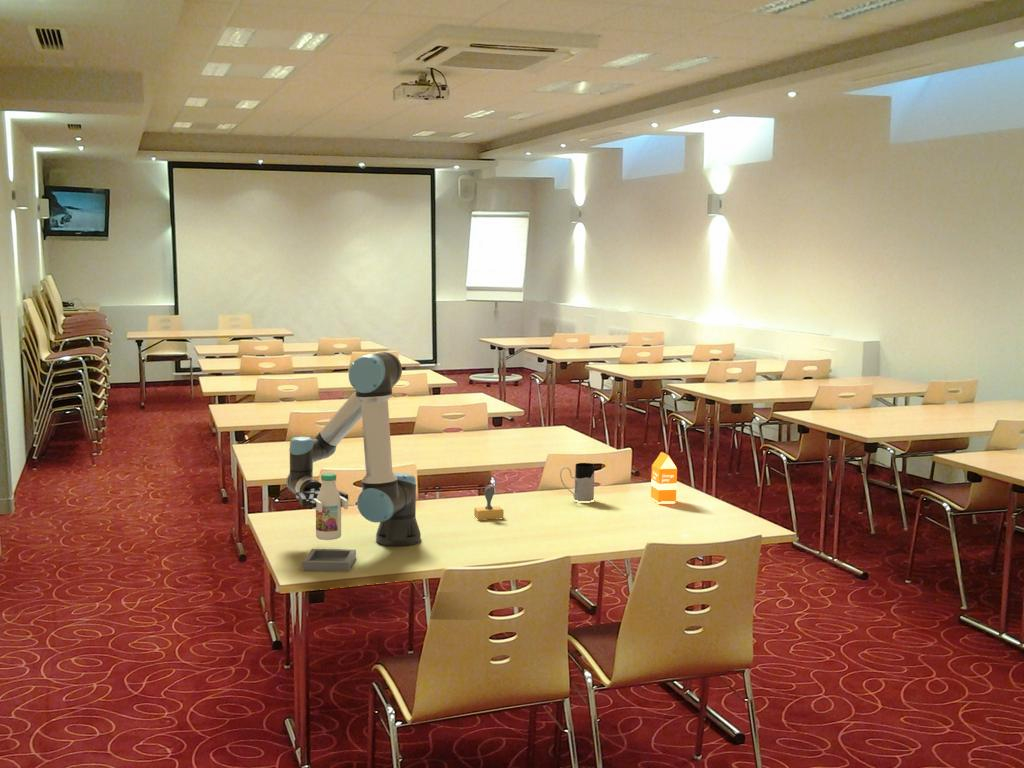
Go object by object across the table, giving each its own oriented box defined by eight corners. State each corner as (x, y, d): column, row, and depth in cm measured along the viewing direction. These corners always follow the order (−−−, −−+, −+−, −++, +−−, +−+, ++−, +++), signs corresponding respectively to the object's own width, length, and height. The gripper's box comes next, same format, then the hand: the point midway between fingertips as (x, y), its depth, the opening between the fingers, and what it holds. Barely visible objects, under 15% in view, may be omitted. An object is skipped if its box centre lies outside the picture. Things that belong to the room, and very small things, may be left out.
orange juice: (657, 504, 382) (659, 455, 379) (650, 499, 390) (652, 451, 388) (676, 504, 383) (678, 455, 381) (668, 499, 392) (670, 451, 390)
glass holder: (595, 503, 382) (596, 467, 380) (560, 503, 381) (561, 466, 380) (593, 498, 390) (594, 462, 389) (558, 498, 390) (559, 462, 388)
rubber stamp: (477, 520, 353) (478, 489, 352) (474, 517, 359) (474, 485, 357) (503, 519, 356) (504, 487, 354) (499, 515, 361) (500, 484, 360)
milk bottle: (323, 532, 302) (323, 470, 299) (345, 535, 299) (345, 472, 297) (311, 539, 294) (311, 475, 292) (333, 541, 292) (334, 477, 290)
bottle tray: (356, 558, 305) (355, 549, 304) (348, 571, 291) (348, 562, 290) (312, 557, 305) (312, 548, 304) (302, 570, 291) (302, 561, 290)
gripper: (340, 498, 316) (365, 514, 297) (279, 504, 306) (301, 521, 287) (340, 476, 315) (365, 491, 296) (279, 481, 305) (301, 497, 286)
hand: (333, 506), depth 291 cm, fingers closed on milk bottle, 7 cm apart
